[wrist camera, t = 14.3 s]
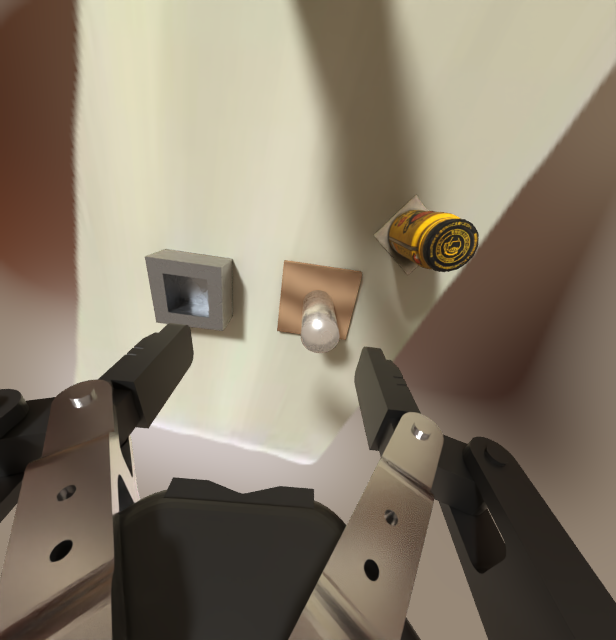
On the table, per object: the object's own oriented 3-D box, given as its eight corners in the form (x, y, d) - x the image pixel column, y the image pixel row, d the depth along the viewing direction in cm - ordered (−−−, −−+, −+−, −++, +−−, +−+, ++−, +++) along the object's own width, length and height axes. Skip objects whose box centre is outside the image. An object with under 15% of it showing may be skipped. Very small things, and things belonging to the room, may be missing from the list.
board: (284, 260, 36) (283, 262, 35) (361, 271, 37) (362, 273, 36) (278, 327, 41) (277, 330, 40) (344, 336, 42) (345, 339, 41)
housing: (165, 249, 35) (144, 256, 31) (232, 258, 36) (221, 267, 32) (173, 308, 40) (156, 322, 36) (232, 316, 41) (222, 330, 36)
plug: (305, 288, 37) (304, 317, 28) (335, 292, 37) (343, 323, 28) (301, 315, 39) (298, 350, 30) (329, 319, 39) (334, 355, 30)
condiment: (415, 194, 32) (468, 192, 21) (448, 240, 34) (510, 258, 24) (373, 235, 34) (401, 251, 24) (406, 274, 37) (445, 305, 26)
